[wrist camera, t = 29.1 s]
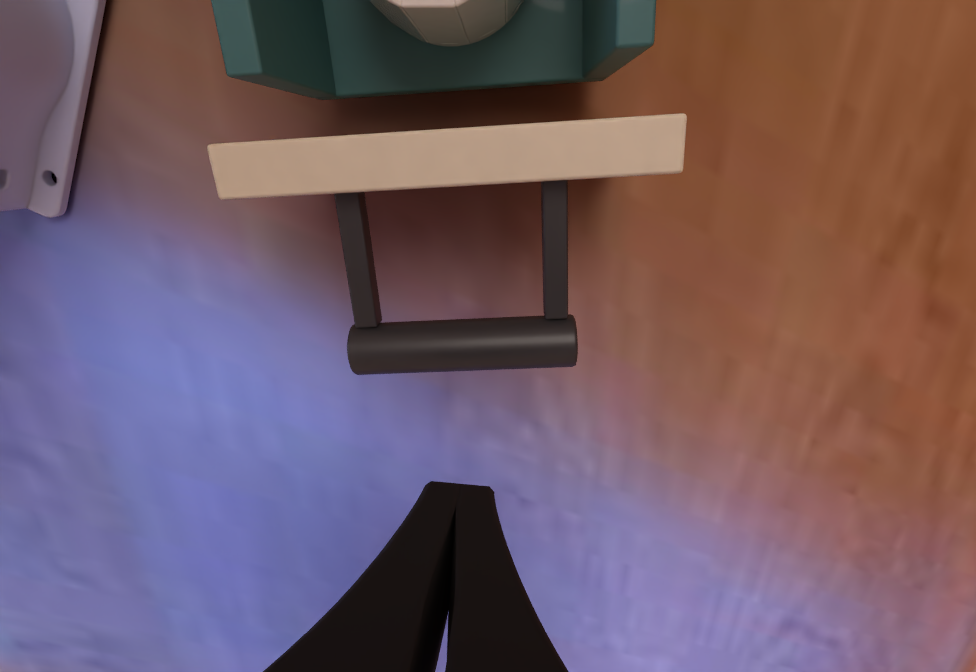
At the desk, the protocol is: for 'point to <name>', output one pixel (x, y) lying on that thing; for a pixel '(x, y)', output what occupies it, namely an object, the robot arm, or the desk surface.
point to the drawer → (442, 148)
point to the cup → (448, 18)
